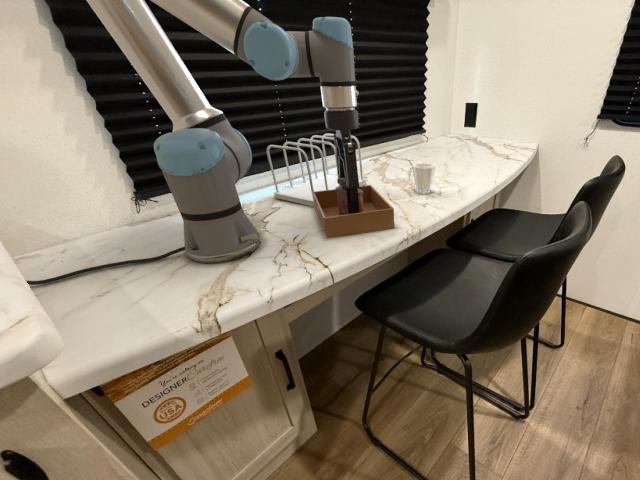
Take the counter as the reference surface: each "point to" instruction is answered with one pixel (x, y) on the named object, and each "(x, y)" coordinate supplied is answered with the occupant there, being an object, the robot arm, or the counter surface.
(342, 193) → the lighter
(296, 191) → the file sorter
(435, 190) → the counter surface
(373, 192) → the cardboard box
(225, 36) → the robot arm
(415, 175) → the cup
